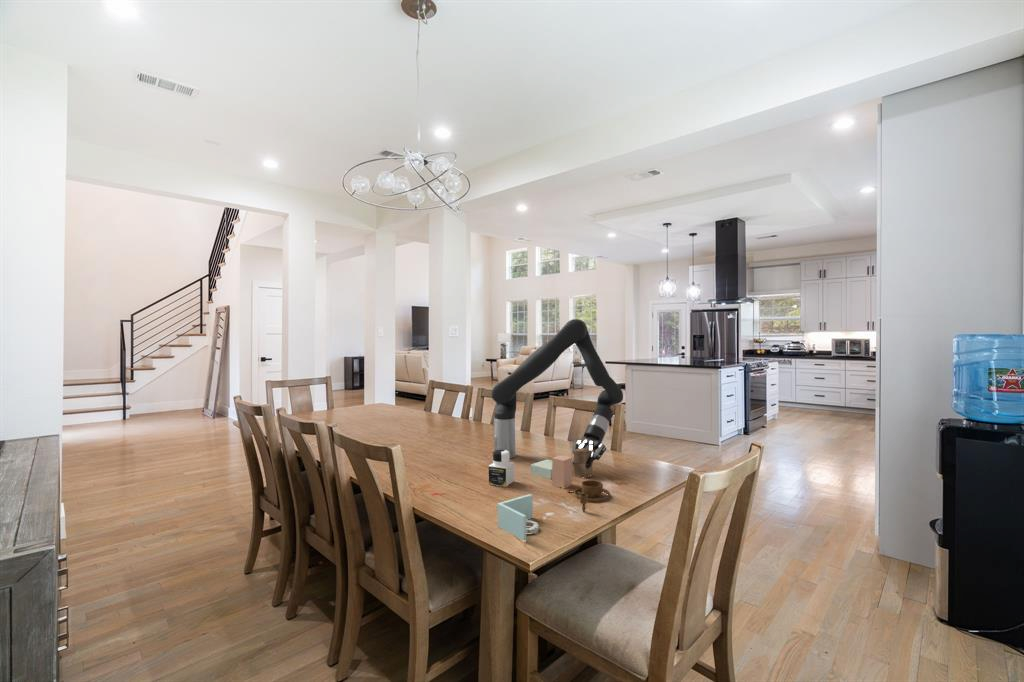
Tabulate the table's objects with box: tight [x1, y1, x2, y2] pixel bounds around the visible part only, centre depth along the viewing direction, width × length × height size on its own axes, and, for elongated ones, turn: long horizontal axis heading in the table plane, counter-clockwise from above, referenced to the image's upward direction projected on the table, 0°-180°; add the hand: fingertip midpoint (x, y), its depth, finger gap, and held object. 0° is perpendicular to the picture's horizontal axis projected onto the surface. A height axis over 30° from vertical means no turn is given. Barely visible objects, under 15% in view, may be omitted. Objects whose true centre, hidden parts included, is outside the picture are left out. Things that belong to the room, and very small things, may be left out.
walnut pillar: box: [573, 448, 593, 479], centre depth 178 cm, size 5×5×10 cm
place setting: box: [567, 479, 611, 512], centre depth 154 cm, size 18×20×6 cm
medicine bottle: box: [488, 450, 515, 488], centre depth 171 cm, size 7×7×12 cm
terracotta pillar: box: [551, 454, 573, 489], centre depth 167 cm, size 5×5×10 cm
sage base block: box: [530, 459, 552, 480], centre depth 182 cm, size 10×10×4 cm
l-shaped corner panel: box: [496, 493, 540, 541], centre depth 131 cm, size 12×12×8 cm
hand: (580, 465), depth 177 cm, fingers closed on walnut pillar, 5 cm apart
